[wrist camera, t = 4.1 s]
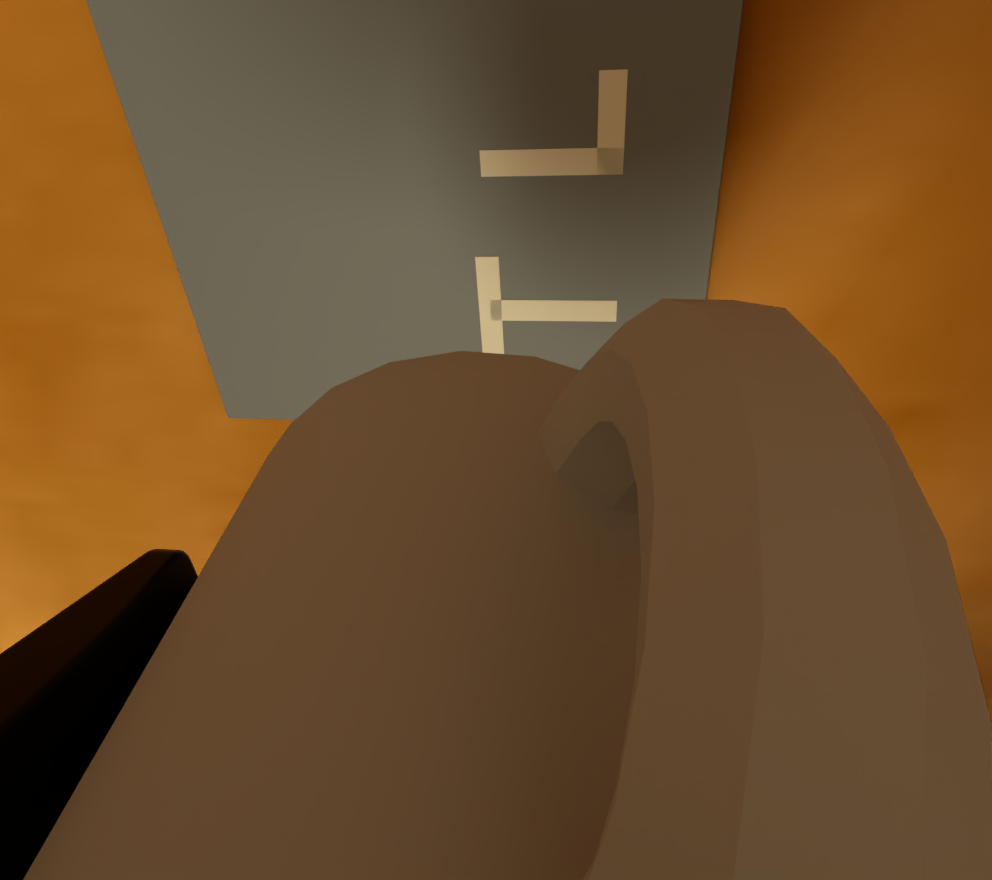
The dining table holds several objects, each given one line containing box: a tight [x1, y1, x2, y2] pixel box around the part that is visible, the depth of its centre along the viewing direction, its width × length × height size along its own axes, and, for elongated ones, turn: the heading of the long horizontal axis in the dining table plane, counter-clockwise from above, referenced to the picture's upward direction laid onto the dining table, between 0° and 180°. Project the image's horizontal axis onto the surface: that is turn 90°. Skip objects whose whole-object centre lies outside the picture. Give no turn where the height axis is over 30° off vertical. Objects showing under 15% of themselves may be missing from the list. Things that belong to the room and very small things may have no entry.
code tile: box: [86, 0, 743, 420], centre depth 19 cm, size 12×14×1 cm
